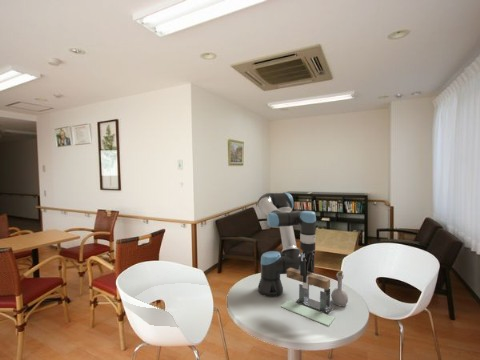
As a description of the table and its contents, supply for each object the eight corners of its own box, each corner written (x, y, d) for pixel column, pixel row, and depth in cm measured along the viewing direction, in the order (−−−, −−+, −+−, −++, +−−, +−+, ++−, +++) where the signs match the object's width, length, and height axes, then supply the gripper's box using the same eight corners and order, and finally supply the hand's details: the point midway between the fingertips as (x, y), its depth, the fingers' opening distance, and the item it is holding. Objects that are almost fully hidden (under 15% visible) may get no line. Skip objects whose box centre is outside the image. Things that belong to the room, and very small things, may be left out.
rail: (286, 277, 136) (286, 269, 136) (290, 274, 139) (290, 267, 139) (327, 289, 122) (327, 281, 122) (330, 286, 125) (330, 278, 125)
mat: (281, 306, 137) (281, 306, 137) (288, 300, 143) (288, 299, 143) (328, 326, 121) (328, 325, 121) (334, 318, 127) (334, 317, 127)
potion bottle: (349, 307, 136) (350, 275, 135) (332, 306, 138) (332, 273, 137) (346, 299, 145) (347, 268, 144) (329, 297, 146) (330, 267, 145)
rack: (296, 302, 142) (296, 283, 141) (301, 297, 147) (302, 279, 147) (328, 314, 130) (328, 294, 130) (332, 308, 136) (333, 289, 135)
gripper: (307, 247, 121) (306, 295, 122) (321, 239, 134) (320, 282, 135) (293, 244, 126) (292, 290, 127) (308, 236, 139) (307, 278, 140)
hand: (307, 286), depth 131 cm, fingers closed on rail, 4 cm apart
